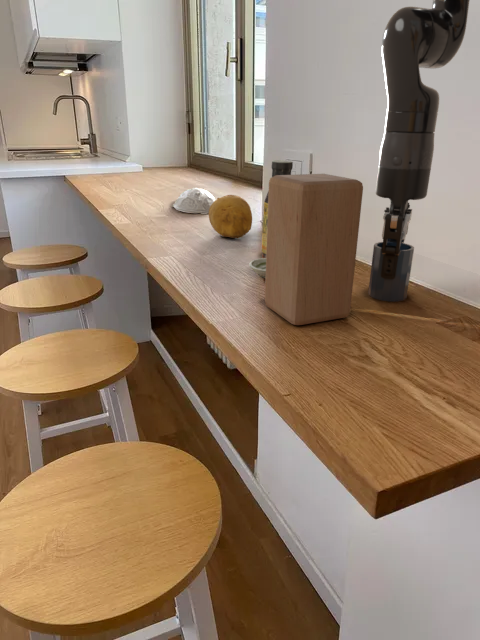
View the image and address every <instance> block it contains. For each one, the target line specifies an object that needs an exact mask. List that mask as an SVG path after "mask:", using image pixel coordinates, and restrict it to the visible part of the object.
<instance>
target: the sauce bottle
mask: <svg viewBox="0 0 480 640" xmlns="http://www.w3.org/2000/svg"><path fill="white" fill-rule="evenodd" d="M293 163H294V162H293V161H291V160H287V159H285V160H284V159H276V160H274V159H273V160H272V161H271V167H270V168H271V178H272V177H274V176H276V175H292V170H293V165H294V164H293ZM268 194H269V189H268V191H267V193H266V196H265V199H264V201H263V215H262V231H261V232H262V233H261V235H262V236H261V258H266V252H267V223H268Z"/></svg>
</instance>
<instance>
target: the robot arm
mask: <svg viewBox="0 0 480 640" xmlns="http://www.w3.org/2000/svg"><path fill="white" fill-rule="evenodd" d="M469 8H470V0H432V6H431V8H426V7H418V6H405V7H402V8H400V9H398V10H397V11H395V13H393V14H392V15H391V17H390V18H389V20H388V22H387V24H386V26H385V28H384V32H383V34H382V40H381V57H382V58H381V59H382V66H383V74H384V82H385V89H386V98H387V108H386V115H385V123H384V132H383V136H382V141H381V145H380V149H379V160H378V166H377V167H378V168H377V174H376V175H377V176H376V183H375V195H376V196H377V197H379V198H383V199H389V201H390V203H389V206H386V207H385V209H384V211H383V215H382V216H383V217H382V219H383V226H382V233H381V238H382V242H383V245H382V248H381V251H382V253H383V261H382V269H381V277H382V278H385V279H394V278H395V276H396V270H397V263H398V256H399V254H400V253H401V251H400V247H401V243H405V241H406V237H407V235H408V232H409V225H410V222H411V219H412V214H413V208H411V205H410V202H409V201H419V200H423V199H425V198H426V197H427V195H428V190H429V183H430V176H431V170H432V164H433V157H434V153H435V152H434V150H435V132H436V126H437V119H438V115H439V113H438V112H439V107H440V94H439V92H438V90H437V89H435V88H433V87H430V86H428V85H426V84H424V83H423V81H422V77H421V72H420V69H431V70H432V69H433V70H434V69H435V70H436V69H439V68H443V67H445V66H446V65H448V64H449V63H450V62H451V61H452V60H453V59H454V57H455V56H456V55H457V53H458V52H459V50H460V48H461V46H462V44H463V41H464V38H465V34H466V30H467V24H468V16H469V15H468V14H469ZM388 242H397V245H396V246H389V245H388Z"/></svg>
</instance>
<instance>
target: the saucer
mask: <svg viewBox="0 0 480 640" xmlns="http://www.w3.org/2000/svg"><path fill="white" fill-rule="evenodd" d="M248 266H249V268H250V270H252V271H253V272H254V273H255V274H257V275H259V276H261V278H263V279H266V258H262V257H261V258H256V259H253V260H251V261H250V262H249V263H248Z"/></svg>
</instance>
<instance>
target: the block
mask: <svg viewBox="0 0 480 640" xmlns="http://www.w3.org/2000/svg"><path fill="white" fill-rule="evenodd" d="M268 190H269V194H268V223H267V252H266V278H265V281H264V283H265V285H264V286H265V287H264V303H265V306H266V307H267V308H268V309H270V310H272V311H273V312H275V313H276V314H277V315H278V316H279V317H282V318H283V319H284V320H286V321H287V322H288V323H290V324H291V325H295V326H302V325H308V324H314V323H321V322H326V321H327V322H328V321H332V320H338V319H342V318H343V319H344V318H347V317H349V315H350V313H351V308H352V297H353V288H354V279H355V268H356V260H357V252H358V251H357V249H358V241H359V231H360V221H361V213H362V212H361V211H362V203H363V194H364V193H363V192H364V186H363V182H361V180H358V179H356V178H351V177H350V178H349V177H344V176H339V175H334V174H328V173H304V174H303V173H302V174H301V173H300V174H299V173H298V174H291V175H276V176H274V177H272V176H271V177H270V178H269V181H268Z"/></svg>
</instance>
